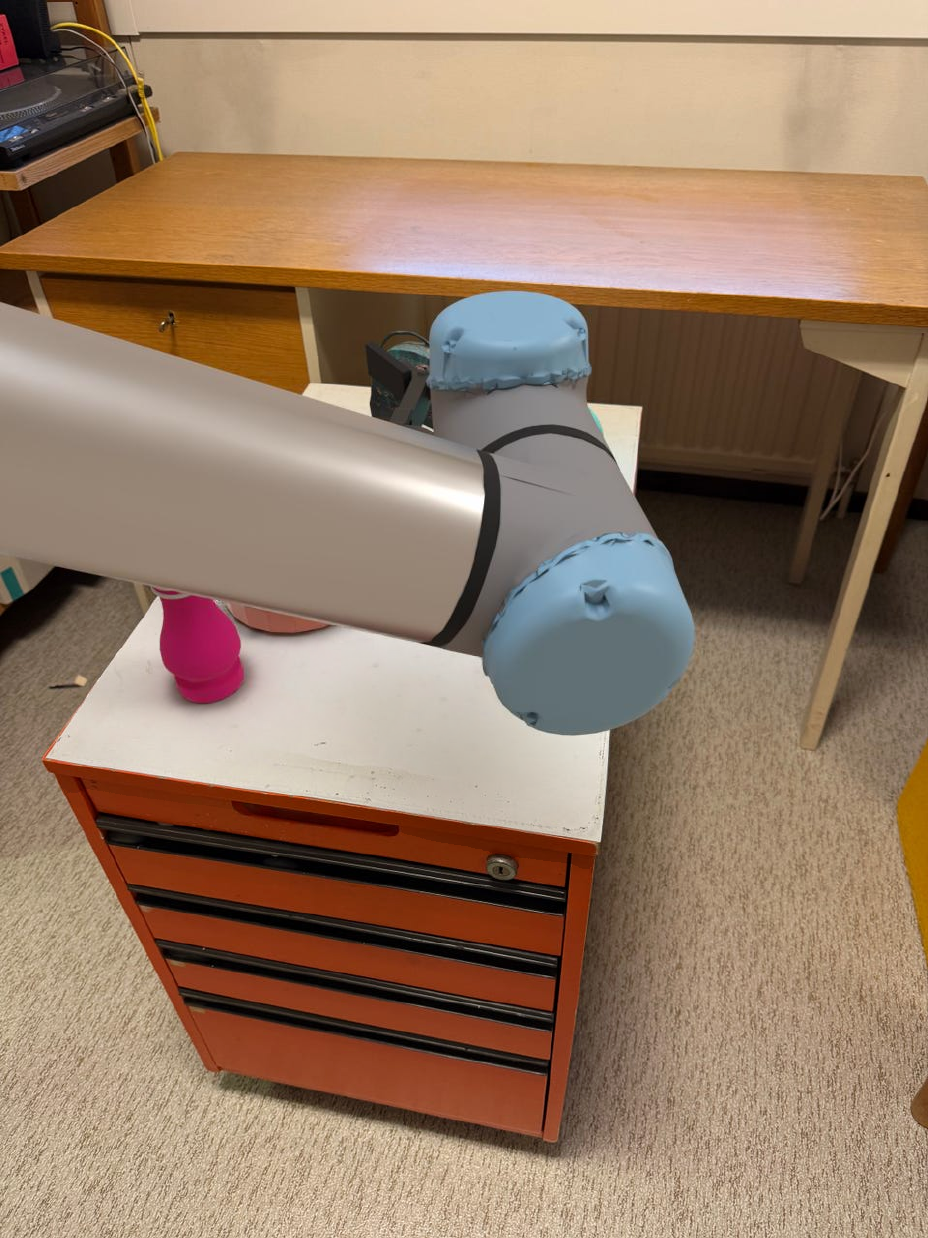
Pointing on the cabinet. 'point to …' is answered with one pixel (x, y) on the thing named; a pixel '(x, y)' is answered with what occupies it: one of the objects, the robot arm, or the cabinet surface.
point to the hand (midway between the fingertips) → (294, 379)
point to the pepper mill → (199, 646)
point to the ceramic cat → (407, 351)
